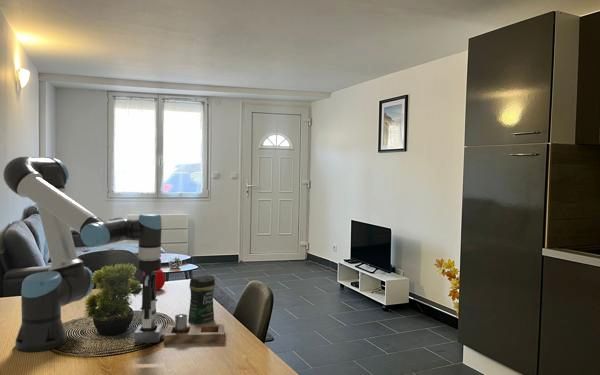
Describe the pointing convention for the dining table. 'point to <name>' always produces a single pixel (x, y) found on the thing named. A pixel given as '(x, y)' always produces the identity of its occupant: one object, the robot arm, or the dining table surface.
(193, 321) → the coffee jar
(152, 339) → the socket block
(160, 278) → the tomato
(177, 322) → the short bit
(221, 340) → the rack
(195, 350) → the dining table surface
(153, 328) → the grey metal cylinder
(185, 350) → the dining table surface
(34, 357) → the dining table surface
